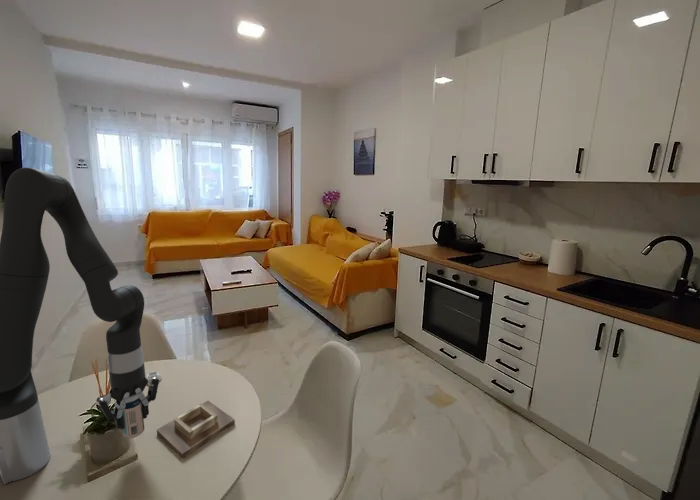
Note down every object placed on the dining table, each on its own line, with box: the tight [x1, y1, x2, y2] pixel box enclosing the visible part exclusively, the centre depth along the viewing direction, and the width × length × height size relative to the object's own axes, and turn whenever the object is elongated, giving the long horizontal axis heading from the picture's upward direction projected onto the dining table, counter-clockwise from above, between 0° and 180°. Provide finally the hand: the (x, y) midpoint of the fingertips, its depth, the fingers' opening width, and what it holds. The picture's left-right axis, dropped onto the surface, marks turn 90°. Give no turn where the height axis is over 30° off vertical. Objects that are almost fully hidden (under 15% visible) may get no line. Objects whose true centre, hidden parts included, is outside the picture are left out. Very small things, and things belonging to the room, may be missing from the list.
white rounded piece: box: [145, 370, 162, 385], centre depth 121 cm, size 5×3×5 cm
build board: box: [156, 400, 236, 459], centre depth 99 cm, size 16×14×4 cm
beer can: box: [122, 394, 145, 439], centre depth 89 cm, size 5×5×12 cm
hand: (133, 422), depth 89 cm, fingers closed on beer can, 4 cm apart
